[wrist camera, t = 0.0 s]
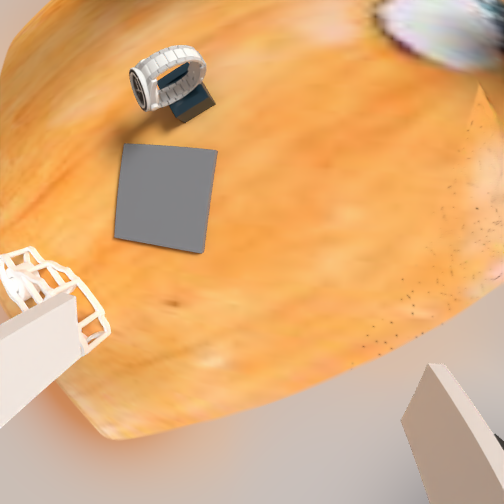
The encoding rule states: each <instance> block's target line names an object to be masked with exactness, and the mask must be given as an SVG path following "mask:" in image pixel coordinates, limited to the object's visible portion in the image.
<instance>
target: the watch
mask: <svg viewBox="0 0 504 504" xmlns="http://www.w3.org/2000/svg"><path fill="white" fill-rule="evenodd" d="M159 53H160V54H159ZM165 57H166V58H165ZM151 59H152V60H151ZM166 59H167V60H166ZM156 62H157V63H156ZM185 62H186V63H185ZM188 62H190V64H189V63H188ZM183 63H185V64H183ZM180 64H183V65H181V66H180V67H178V68H177V69H175V70H174V71H172V72H170V73H169V74H167V75H166V76H164V77H163V78H161V79H160V80H158V81H157V79H155V78H156V77H158V76H159V75H160V74H162V73H163V72H165V71H166V70H168V69H170V68H172V67H174V66H176V65H180ZM159 73H160V74H159ZM205 73H206V63H205V62H204V60H203V58H202V57H201V55H200V54H199V52H198V51H196V50H195V49H194V48H193V47H191V46H187V45H178V46H171V47H168V48H165V49H162V50H160V51H159V52H156V53H154V54H152V55H151V56H150V57H148V58H147V59H143V60H141V61H140V62H139V63H138V64H137V65H136V66H135V67H133V68H131V69H130V72H129V76H130V82H131V86H132V89H133V92H134V95H135V97H136V100H137V102H138V104H139V105H140V107H141V108H142V109H143V110H144V111H145V112H146V111H155V110H157V109H158V108H161V107H165V106H167V105H169V106H170V108H171V110H172V112H173V114H174V115H175V117H176V118H177V119H179V120H181V121H182V122H184V123H186V122H187V121H189V120H190V119H192V118H194V117H195V116H197V115H199V114H200V113H202V112H203V111H205V110H207V109H208V108H210V107H212V106H213V105H215V102H214V100H213V99H212V97H211V95H210V94H209V92H208V90H207V89H206V87H205V85H204V84H203V82H202V80H203V78H204V76H205ZM157 84H158V86H159V88H160V90H158V89H157Z"/></svg>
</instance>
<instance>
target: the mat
mask: <svg viewBox="0 0 504 504" xmlns="http://www.w3.org/2000/svg"><path fill="white" fill-rule="evenodd" d="M217 152H218V151H216V150H209V149H199V148H188V147H176V146H162V145H146V144H124V148H123V155H122V162H121V170H120V178H119V187H118V197H117V208H116V221H115V238H121V239H126V240H131V241H137V242H142V243H147V244H153V245H158V246H163V247H169V248H174V249H180V250H185V251H191V252H196V253H203V252H204V247H205V239H206V231H207V223H208V215H209V208H210V200H211V193H212V186H213V179H214V172H215V165H216V159H217Z"/></svg>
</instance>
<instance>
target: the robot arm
mask: <svg viewBox="0 0 504 504" xmlns="http://www.w3.org/2000/svg"><path fill="white" fill-rule="evenodd" d="M79 358H81V349H80V341H79V331H78V320H77V306H76V296H73V295H70V294H67V293H64V292H61V293H59V294H57V295H55V296H53V297H51V298H49V299H47V300H45V301H43V302H41V303H39V304H37V305H35V306H34V307H32V308H30V309H28V310H26V311H24V312H22V313H20V314H19V315H17V316H15V317H13V318H11V319H9V320H7V321H6V322H4V323H2V324H0V428H1V427H3V426H4V425H5V424H6V423H7V422H8V421H9V420H10V419H11V418H12V417H14V416H15V415H16V414H17V413H18V412H19V411H20V410H21V409H22V408H24V406H26V405H27V404H28V403H29V402H30V401H31V400H32V399H34V398H35V397H36V396H37V395H38V394H39V393H40V392H42V391H43V390H44V389H45V388H46V387H47V386H48V385H49V384H51V383H52V382H53V381H54V380H55V379H56V378H57V377H59V376H60V375H61V374H62V373H63V372H64V371H66V370H67V369H68V368H69V367H70V366H71V365H72V364H74V363H75V362H76V361H77V360H78V359H79ZM401 423H402V425H403V428H404V431H405V433H406V436H407V439H408V441H409V444H410V447H411V450H412V452H413V455H414V458H415V461H416V464H417V466H418V469H419V472H420V475H421V478H422V481H423V484H424V487H425V490H426V493H427V496H428V500H429V503H430V504H504V441H503V440H502V439H500V438H499V437H498V436H497V435H496V434H493V433H492V431H491V430H490V428H489V427H488V425H487V424H486V422H485V421H484V419H483V418H482V416H481V415H480V413H479V412H478V410H477V409H476V407H475V406H474V404H473V403H472V402H471V400H470V399H469V397H468V396H467V394H466V393H465V392H464V390H463V389H462V387H461V386H460V385H459V383H458V382H457V381H456V379H455V378H454V376H453V375H452V374H451V372H450V371H449V370H448V368H447V367H446V366H445V364H433V363H428V364H427V367H426V369H425V371H424V374H423V376H422V378H421V380H420V382H419V385H418V387H417V389H416V391H415V394H414V395H413V397H412V399H411V402H410V403H409V405H408V407H407V410H406V411H405V413H404V415H403V417H402V419H401Z"/></svg>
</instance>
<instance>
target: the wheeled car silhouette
mask: <svg viewBox="0 0 504 504" xmlns="http://www.w3.org/2000/svg"><path fill="white" fill-rule="evenodd" d="M29 252H30V253H31V254H32V255H33V257H34V258H35V259H36V261H37V262H38V263H40V264H38V265H36V266H34V265H33V264H32V263H30V258H29ZM21 254H24V263H22V264H19V265H16V266H15V264H14V263H13V261H12V260H11V257H14V256H18V255H21ZM4 262H5V263H6V265H7V267H8V269H7V270H6V271H5V269H4ZM45 267H47V269H48V270H49V272H50V273H51V275H52V276H53V278H54V279H55V280H56V282H57V283H58V285H59V287H57V288H55V289H52V288H50V287H49V285H48V284H47V283H46V282H45V280H44V279H43V278H41V277H40V275H39V272H38V270H40V269H43V268H45ZM56 270H58V271H60V272H65V274H66V275H67V276H68V277H69V278H70V280H72V281H69V282H67V283H65V282H64V281H63V279H62V278H61V276H60V275H59V274H58V272H57V271H56ZM0 278H1V281H2V283H3V285H4V287H5V289H6V292H7V294H8V295H9V297H10V298H11V300H13V301H14V302H15V303H17V305H18V306H19V307H20V309H21V311H22V312H24V311H26V310H28V307H27V305H26V304H25V302H24V301H26V300H28V299H30V298H32V297H33V299H34V300H35V302H36V303H37V304H39V303H41V302H43V301H45V300H47V299H49V298H51V297H53V296H55V295H57V294H59V293H61V292H64V293H67V294H70V293H71V292H73V291H74V289H75V288H76V287H77V286H78V287H79V288H80V289H81V291H82V292H83V293H84V294H85V296H86V297H87V299H88V300H89V301H90V303H91V304H92V305H93V307H94V309H95V311H96V312H94V313H93V314H91V315H90V316H88V317H87V318H85V319H84V320H82V321H81V322H79V323H78V331H79V341H80V348H81V356H85V355H86V354H88V353H89V352H90V351H91V350H92V349H94V348H95V347H96V346H97V345H98V344H99V343H101V342H102V341H103V340H104V339H105V338H106V337H108V336H109V335H110V334H111V328H110V325H109V323H108V321H107V320H106V318H105V316H104V315H105V312H104V309H103V308H102V306H101V305H100V304H99V302H98V301H97V299H96V298H95V297H94V295H93V294H92V293H91V291H90V290H89V289H88V287H87V286H86V285H85V284H84V282H83V281H82V280H81V279H80V278H79V277H78V276H76V275H75V274H74V273H73V272H72V271H71V269H70V268H69V267H63V266H61V265H59V264H58V263H56V262H54V261H50V260H44V259H43V258H42V257H41V256H40V255H39V253H38V252H37V250H36V249H35V248H34V247H32V246H29V247H26V248H23V249H20V250H16V251H13V252H10V253H7V254H1V255H0ZM40 290H41V291H42V292H43V293H44V295H45V296H46V297H45V298H44V300H43V299H42V297H41V296H40V294H39V293H40ZM97 317H98V319H99V321H100V323H101V325H102V326H103V327H104V331H99V332H96V333H93V334H92V335H90V336H89V337H87V336H86V335H85V334H84V333H82V332H81V331H82V329H81V328H83V327H84V326H86V325H87V324H88V323H90V322H91V321H93V320H94V319H95V318H97ZM97 337H98V338H97ZM94 338H96V339H95V340H94V341H93V342H92V343H90V344H89V345H88V342H89V341H90V340H92V339H94Z"/></svg>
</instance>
